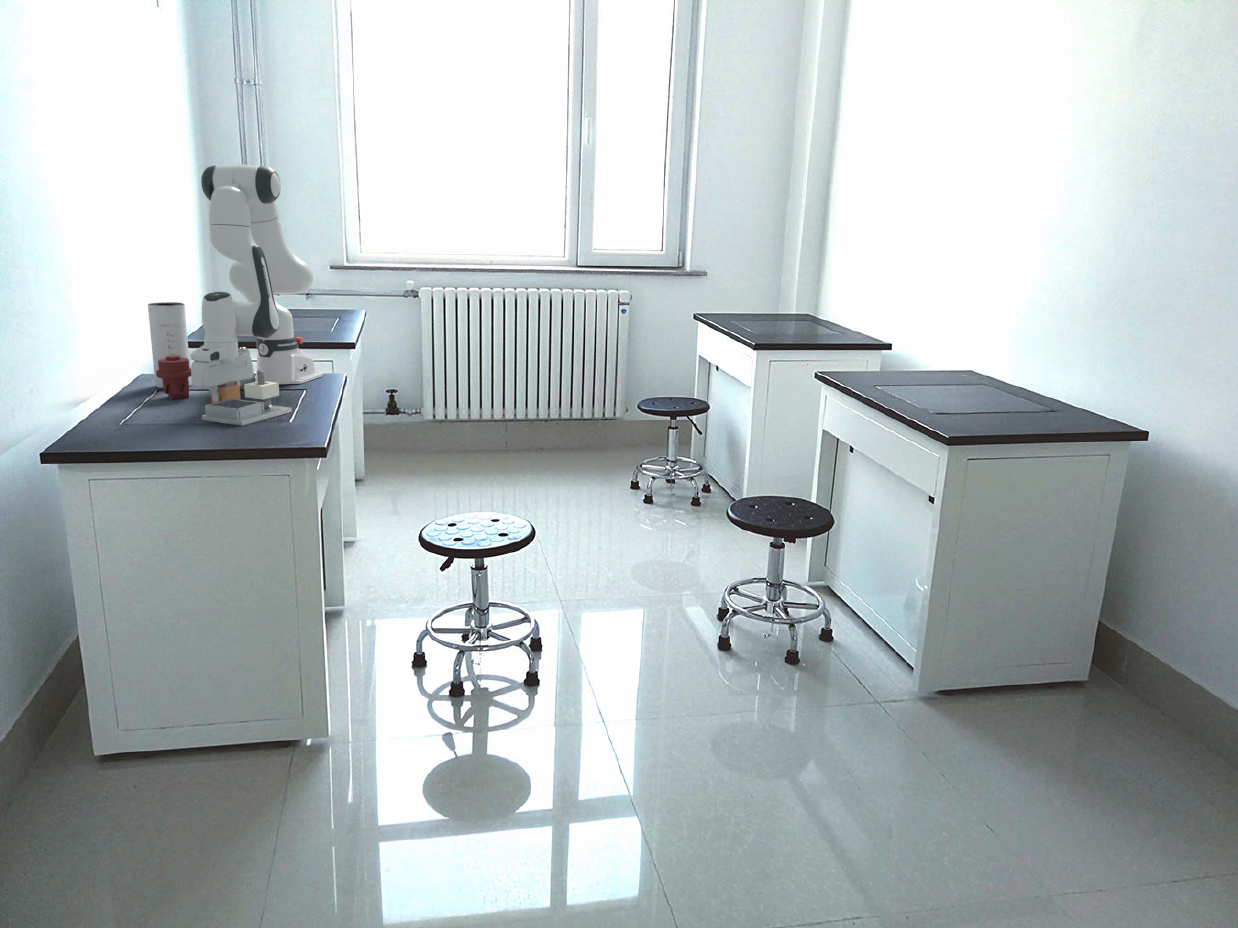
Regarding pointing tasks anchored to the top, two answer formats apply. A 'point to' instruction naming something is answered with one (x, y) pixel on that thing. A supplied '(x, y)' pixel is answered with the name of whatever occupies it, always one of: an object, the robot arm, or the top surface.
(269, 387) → the square housing
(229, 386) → the block
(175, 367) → the mechanical component
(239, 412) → the chassis
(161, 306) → the speaker
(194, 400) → the top surface
